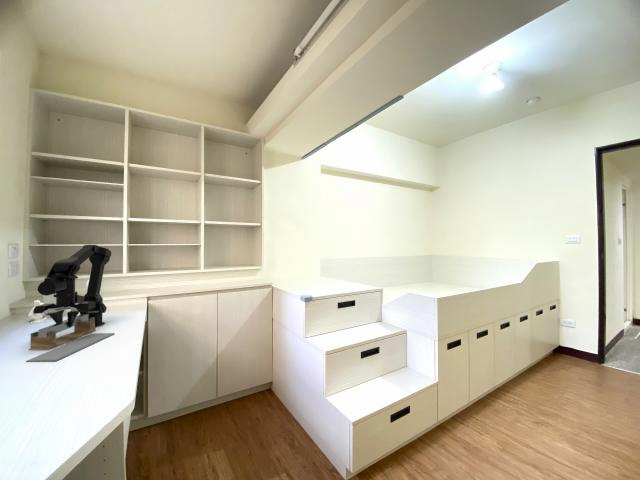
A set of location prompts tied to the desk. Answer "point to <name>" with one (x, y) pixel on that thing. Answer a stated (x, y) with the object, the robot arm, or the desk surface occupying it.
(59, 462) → the desk surface
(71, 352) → the mat
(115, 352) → the desk surface
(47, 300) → the skincare box
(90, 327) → the standards
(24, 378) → the desk surface
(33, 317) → the koala figurine
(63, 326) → the rail
